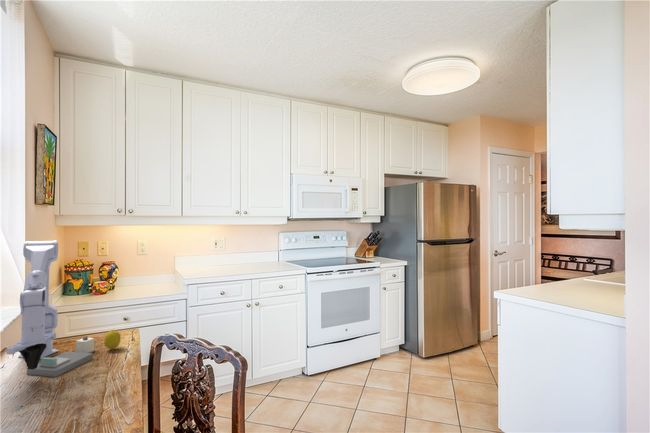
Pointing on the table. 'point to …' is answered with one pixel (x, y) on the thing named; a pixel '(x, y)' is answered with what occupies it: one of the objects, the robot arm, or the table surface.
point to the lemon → (112, 339)
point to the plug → (85, 345)
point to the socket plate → (75, 361)
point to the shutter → (53, 361)
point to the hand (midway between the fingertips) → (32, 368)
